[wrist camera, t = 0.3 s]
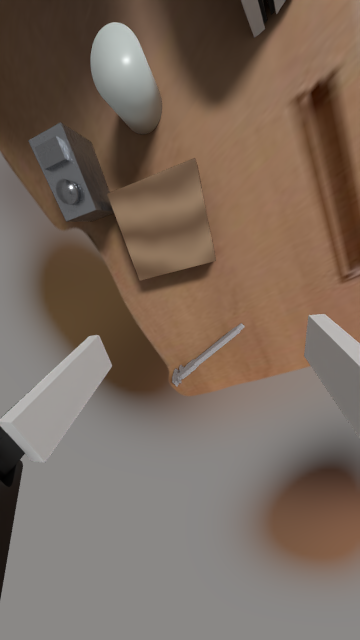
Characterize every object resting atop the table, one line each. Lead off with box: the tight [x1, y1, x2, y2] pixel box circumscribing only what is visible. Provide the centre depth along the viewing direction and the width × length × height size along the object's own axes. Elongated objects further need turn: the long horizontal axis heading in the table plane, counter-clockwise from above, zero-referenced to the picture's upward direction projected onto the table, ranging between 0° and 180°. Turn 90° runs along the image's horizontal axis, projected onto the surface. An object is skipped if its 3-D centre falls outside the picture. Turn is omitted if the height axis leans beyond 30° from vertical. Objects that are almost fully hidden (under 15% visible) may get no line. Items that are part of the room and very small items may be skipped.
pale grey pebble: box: [91, 22, 162, 134], centre depth 24 cm, size 6×6×8 cm
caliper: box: [172, 323, 245, 386], centre depth 42 cm, size 20×1×6 cm, turn 135°
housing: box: [28, 122, 114, 221], centre depth 30 cm, size 10×6×8 cm, turn 16°
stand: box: [107, 158, 216, 281], centre depth 32 cm, size 14×14×4 cm
